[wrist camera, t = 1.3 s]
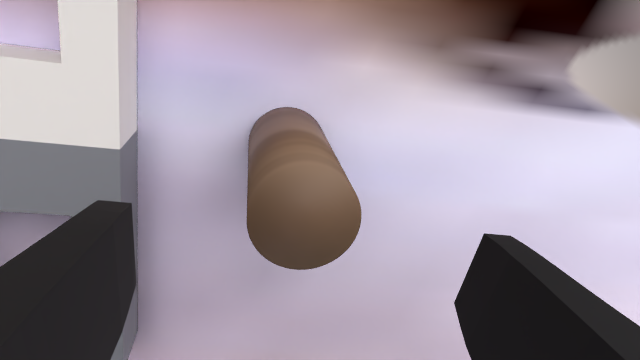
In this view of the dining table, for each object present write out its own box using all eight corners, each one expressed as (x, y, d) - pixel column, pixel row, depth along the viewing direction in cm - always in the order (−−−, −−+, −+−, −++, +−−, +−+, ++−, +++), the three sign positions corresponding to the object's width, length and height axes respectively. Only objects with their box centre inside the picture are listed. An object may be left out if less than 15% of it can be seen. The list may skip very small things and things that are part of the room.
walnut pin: (318, 182, 19) (350, 271, 13) (245, 176, 19) (242, 267, 12) (329, 111, 18) (370, 172, 12) (252, 102, 18) (252, 161, 11)
